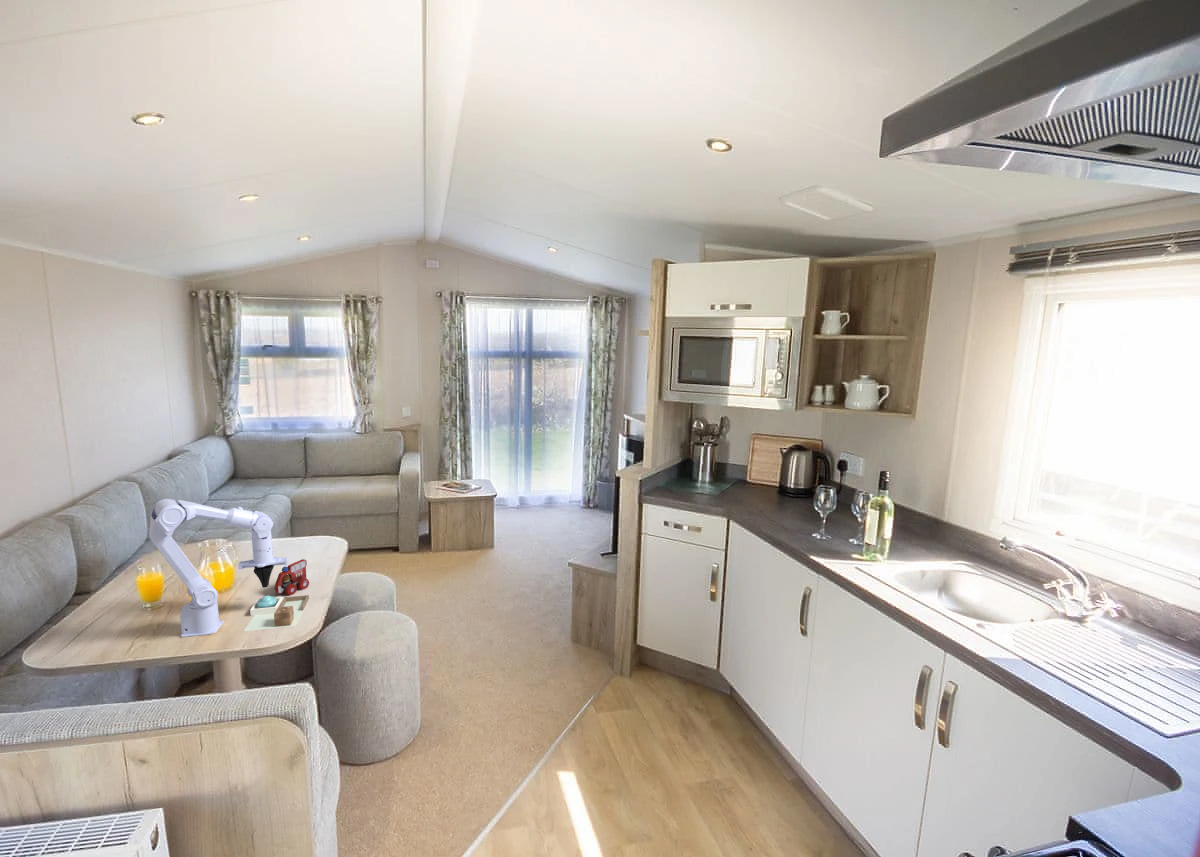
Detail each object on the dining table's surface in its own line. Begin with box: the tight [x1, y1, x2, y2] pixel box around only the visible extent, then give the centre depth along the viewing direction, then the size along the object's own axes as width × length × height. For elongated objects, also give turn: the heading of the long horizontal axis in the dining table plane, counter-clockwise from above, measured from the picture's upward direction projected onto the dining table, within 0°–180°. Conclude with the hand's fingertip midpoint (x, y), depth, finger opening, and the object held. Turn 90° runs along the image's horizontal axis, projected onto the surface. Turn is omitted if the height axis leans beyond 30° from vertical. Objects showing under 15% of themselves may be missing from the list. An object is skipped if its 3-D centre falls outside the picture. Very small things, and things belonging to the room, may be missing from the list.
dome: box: [256, 595, 277, 608], centre depth 188 cm, size 6×6×4 cm
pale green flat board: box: [243, 594, 311, 632], centre depth 186 cm, size 16×20×3 cm
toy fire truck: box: [274, 559, 310, 596], centre depth 203 cm, size 7×12×10 cm, turn 157°
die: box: [274, 606, 294, 627], centre depth 180 cm, size 5×4×5 cm
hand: (265, 586), depth 187 cm, fingers closed
